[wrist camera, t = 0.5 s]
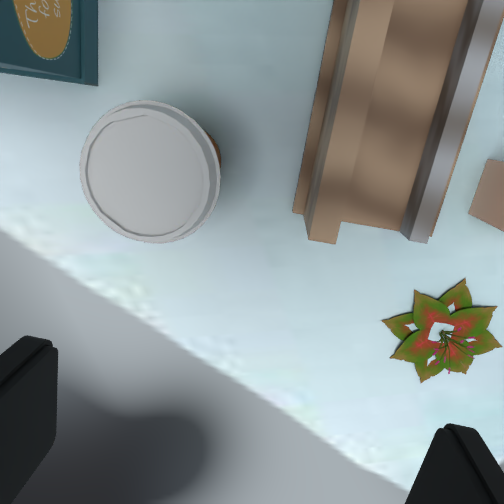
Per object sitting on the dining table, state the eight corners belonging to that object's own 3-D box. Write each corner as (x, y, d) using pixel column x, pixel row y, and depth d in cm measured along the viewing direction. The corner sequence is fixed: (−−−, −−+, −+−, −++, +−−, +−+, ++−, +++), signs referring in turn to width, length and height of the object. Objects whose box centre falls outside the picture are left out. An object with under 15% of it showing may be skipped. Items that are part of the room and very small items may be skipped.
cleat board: (341, -37, 30) (363, -98, 22) (506, -11, 30) (595, -62, 21) (292, 210, 37) (294, 237, 28) (427, 233, 37) (471, 268, 28)
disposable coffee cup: (252, 127, 35) (236, 130, 23) (220, 223, 38) (194, 267, 27) (151, 90, 34) (86, 76, 23) (128, 191, 38) (61, 221, 26)
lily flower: (519, 347, 40) (547, 374, 36) (412, 395, 43) (427, 426, 39) (470, 255, 37) (494, 273, 33) (359, 313, 40) (369, 336, 36)
